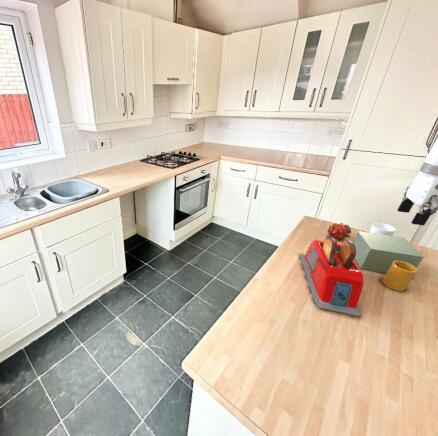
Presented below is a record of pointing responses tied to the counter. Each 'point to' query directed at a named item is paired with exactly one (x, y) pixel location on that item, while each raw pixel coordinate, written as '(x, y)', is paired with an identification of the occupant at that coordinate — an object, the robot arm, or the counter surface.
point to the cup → (399, 275)
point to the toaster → (334, 275)
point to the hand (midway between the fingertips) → (409, 217)
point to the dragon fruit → (339, 231)
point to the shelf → (383, 251)
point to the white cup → (382, 229)
